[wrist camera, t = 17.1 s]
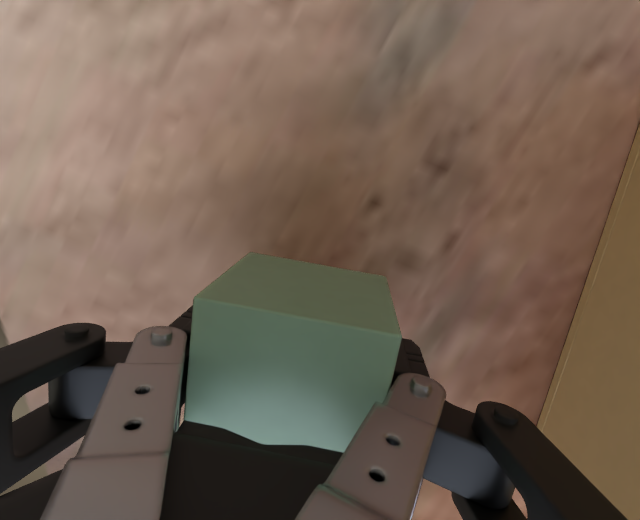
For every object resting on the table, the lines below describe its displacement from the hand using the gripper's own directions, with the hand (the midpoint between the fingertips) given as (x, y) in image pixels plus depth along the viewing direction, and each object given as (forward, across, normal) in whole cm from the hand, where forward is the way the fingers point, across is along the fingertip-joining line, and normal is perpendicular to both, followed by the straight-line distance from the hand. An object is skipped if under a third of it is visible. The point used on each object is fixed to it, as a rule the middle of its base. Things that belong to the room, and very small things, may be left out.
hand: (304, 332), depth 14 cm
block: (0, 0, 0) cm, 0 cm away
